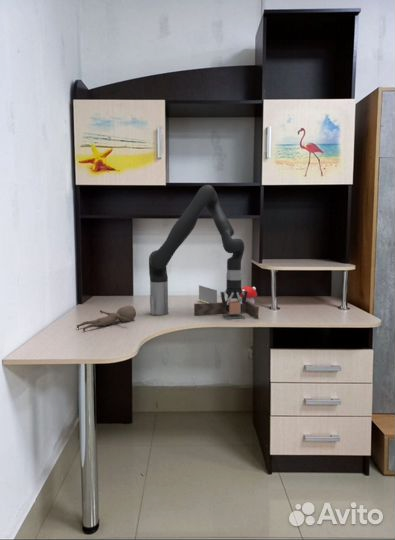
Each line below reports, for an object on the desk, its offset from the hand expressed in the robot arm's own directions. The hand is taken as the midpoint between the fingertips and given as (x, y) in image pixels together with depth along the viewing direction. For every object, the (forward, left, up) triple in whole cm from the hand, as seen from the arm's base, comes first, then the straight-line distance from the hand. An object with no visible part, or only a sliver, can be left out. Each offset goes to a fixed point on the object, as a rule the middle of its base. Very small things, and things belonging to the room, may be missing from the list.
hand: (233, 311), depth 214 cm
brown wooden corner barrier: (-4, +1, -3) cm, 5 cm away
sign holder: (-6, +32, -3) cm, 33 cm away
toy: (-62, -1, -3) cm, 63 cm away
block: (0, 0, -1) cm, 1 cm away
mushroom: (+14, +20, -3) cm, 24 cm away
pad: (0, 0, -3) cm, 3 cm away
